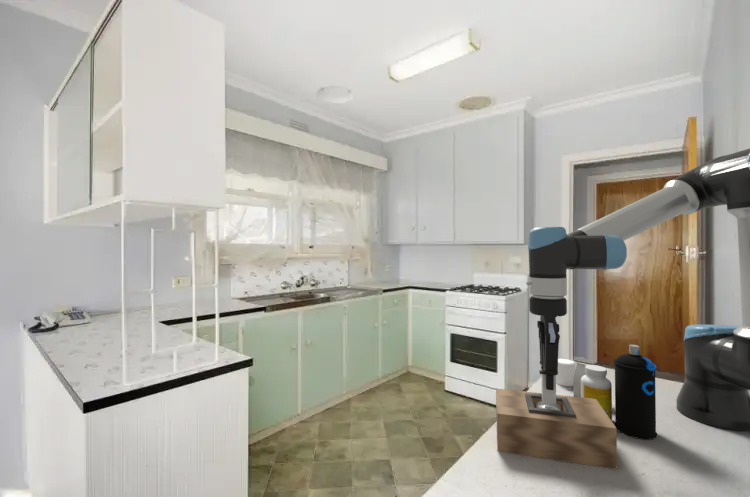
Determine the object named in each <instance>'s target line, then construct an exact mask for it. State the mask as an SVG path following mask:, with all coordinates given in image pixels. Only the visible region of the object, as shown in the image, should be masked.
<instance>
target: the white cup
mask: <svg viewBox="0 0 750 497" xmlns="http://www.w3.org/2000/svg"><path fill="white" fill-rule="evenodd" d="M576 364H577V361H575V360H573V359H570V358H565V357H558V375H556V385H560V386H563V387H573V377H574V373H575V369H576Z"/></svg>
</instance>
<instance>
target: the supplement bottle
mask: <svg viewBox="0 0 750 497" xmlns="http://www.w3.org/2000/svg"><path fill="white" fill-rule="evenodd" d="M607 371H608V370H607V368H606V367H604V366H600V365H595V364H586V366H585V372H586V375H584V376H582V378H581V397H582V398H592V399H596V400H597V401H598V403H599V404H600V405H601V407H602V408H603V410H604V411H605V413H606V414H607V415H608V417H609V418H610V420H611V421H612V422H613V399H612V398H613V395H612V392H613V391H612V388H613V387H612V386H613V385H612V382H611V380H610V379H608V378H607V375H608V372H607Z"/></svg>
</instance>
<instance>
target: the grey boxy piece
mask: <svg viewBox="0 0 750 497" xmlns="http://www.w3.org/2000/svg"><path fill="white" fill-rule="evenodd" d="M586 365H587V364H584V363H581V362H577V361H576V369H575V373H574V377H573V386H572V387H573V388H572V389H573V396H572V397H581V378H582V376H584V375H586V372H585V366H586Z"/></svg>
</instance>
